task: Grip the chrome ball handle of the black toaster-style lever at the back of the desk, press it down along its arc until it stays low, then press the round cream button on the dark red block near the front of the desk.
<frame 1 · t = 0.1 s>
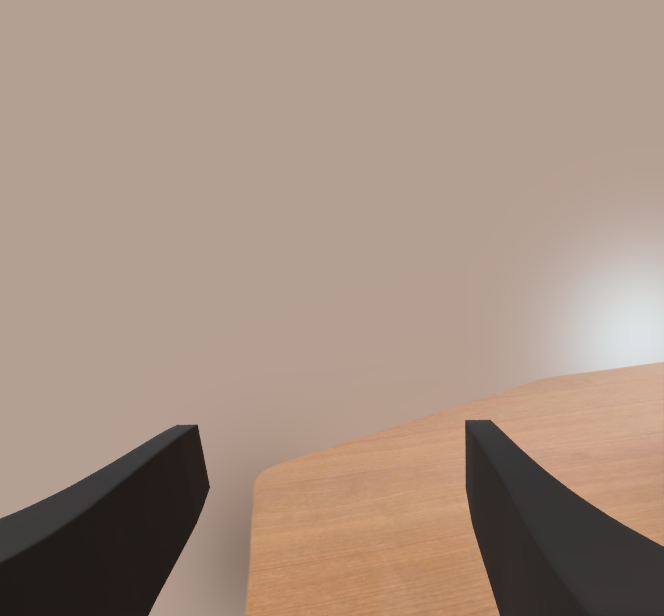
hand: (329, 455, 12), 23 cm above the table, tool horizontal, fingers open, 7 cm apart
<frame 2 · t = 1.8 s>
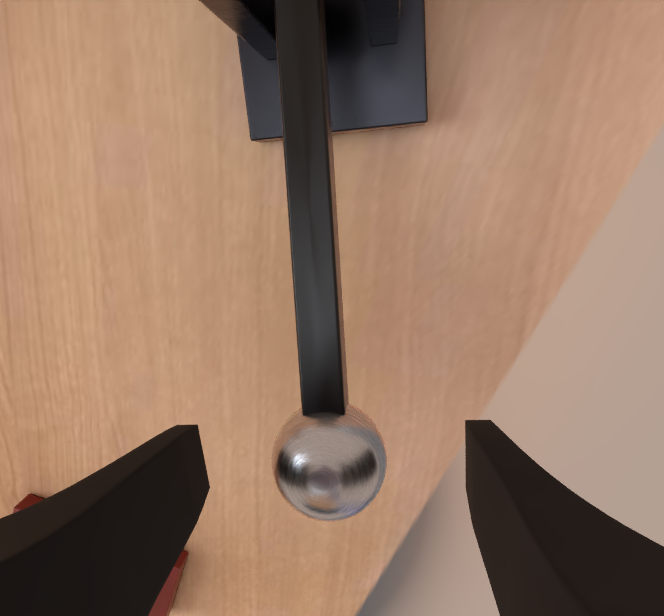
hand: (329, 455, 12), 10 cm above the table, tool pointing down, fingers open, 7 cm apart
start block: (102, 553, 27), on the table
lever: (311, 190, 11), point 8 cm above the table, hinge at 12.0°
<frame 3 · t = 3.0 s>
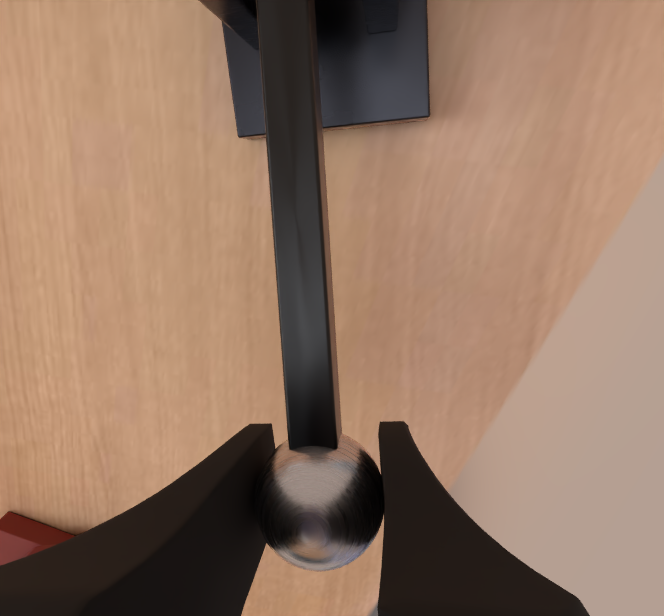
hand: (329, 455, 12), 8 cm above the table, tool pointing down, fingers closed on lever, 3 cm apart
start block: (85, 573, 26), on the table
lever: (299, 192, 10), point 8 cm above the table, hinge at 12.0°, touching gripper
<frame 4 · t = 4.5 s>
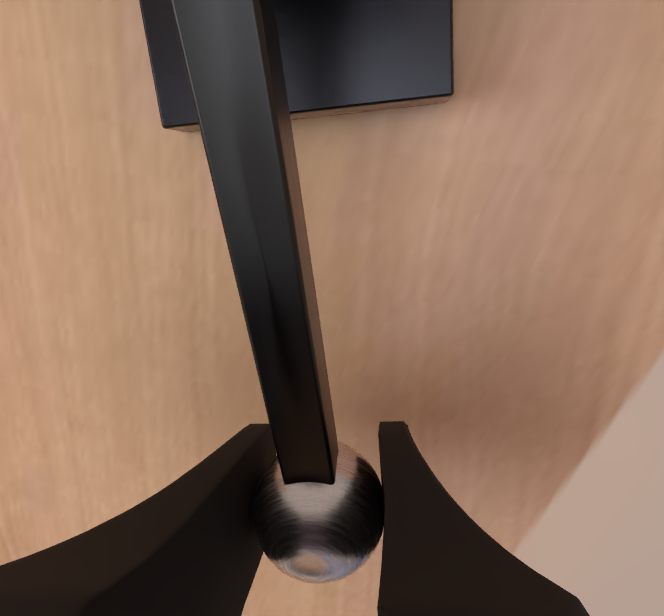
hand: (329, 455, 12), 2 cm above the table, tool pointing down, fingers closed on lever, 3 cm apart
lever: (263, 210, 7), point 6 cm above the table, hinge at -12.2°, touching gripper
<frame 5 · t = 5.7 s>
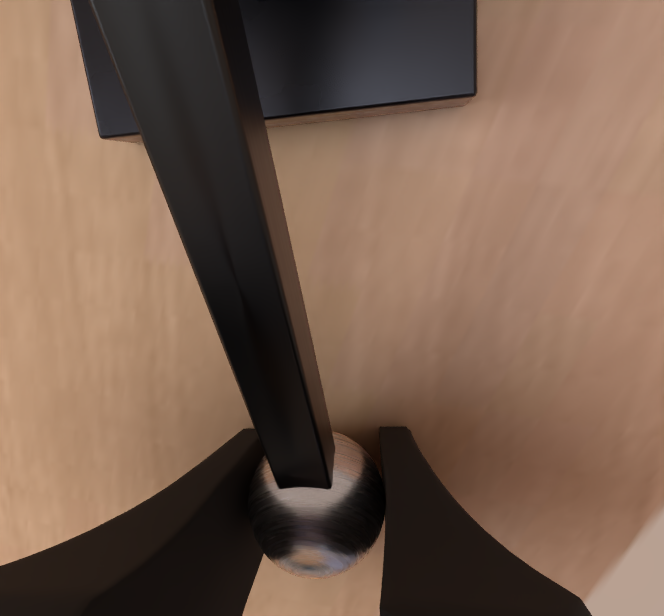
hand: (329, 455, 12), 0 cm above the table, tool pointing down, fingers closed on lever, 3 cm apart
lever: (233, 217, 6), point 4 cm above the table, hinge at -23.2°, touching gripper
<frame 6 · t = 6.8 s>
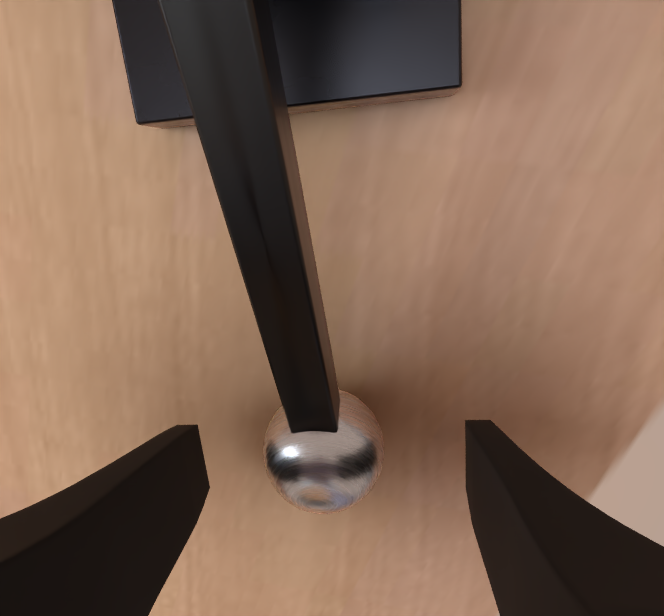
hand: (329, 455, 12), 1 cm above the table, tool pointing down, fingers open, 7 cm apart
lever: (261, 188, 7), point 4 cm above the table, hinge at -22.4°
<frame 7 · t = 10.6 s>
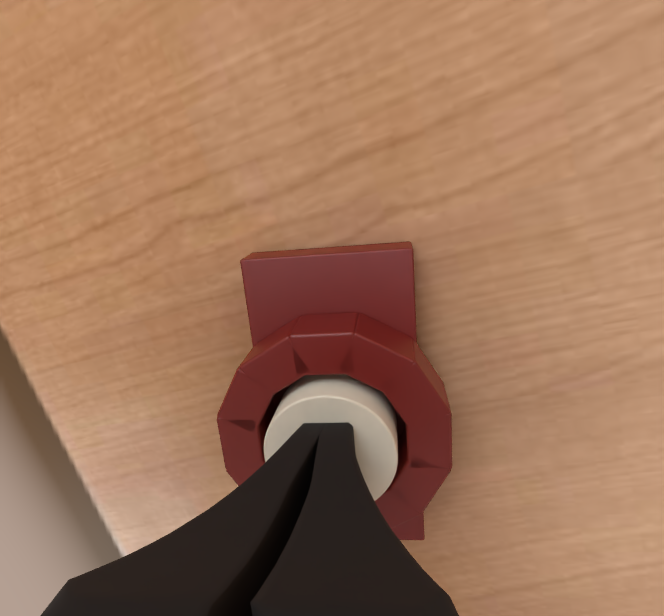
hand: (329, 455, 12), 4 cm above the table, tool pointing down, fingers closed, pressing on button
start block: (342, 393, 15), on the table
button: (333, 438, 13), point 3 cm above the table, slide at -0.6 cm, touching gripper
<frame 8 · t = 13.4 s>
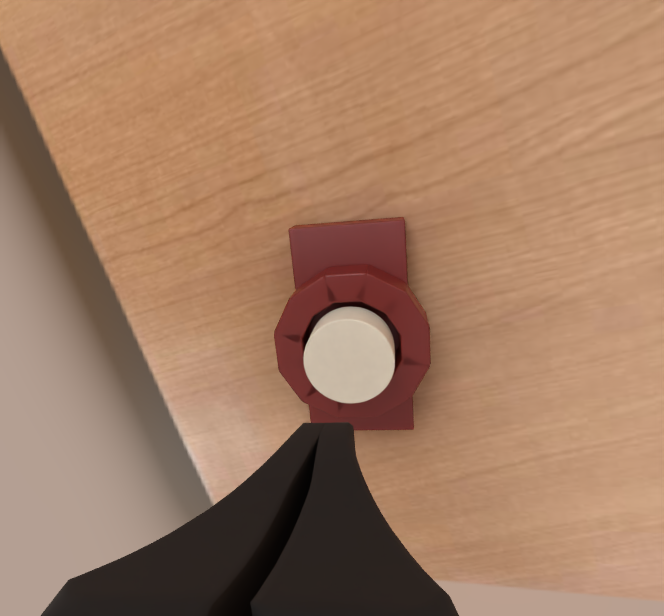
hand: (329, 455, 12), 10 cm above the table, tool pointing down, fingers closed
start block: (356, 325, 22), on the table
button: (350, 354, 19), point 3 cm above the table, slide at 0.1 cm
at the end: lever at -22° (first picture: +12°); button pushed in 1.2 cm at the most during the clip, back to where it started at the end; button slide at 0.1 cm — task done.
